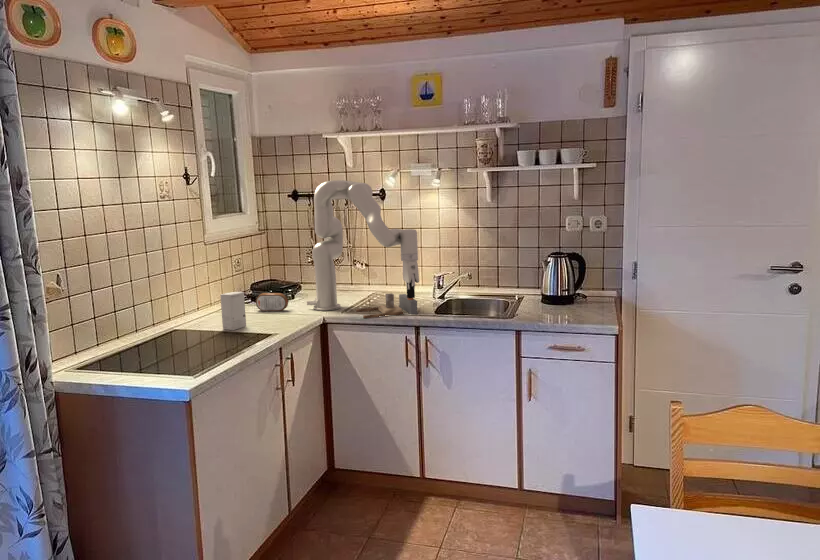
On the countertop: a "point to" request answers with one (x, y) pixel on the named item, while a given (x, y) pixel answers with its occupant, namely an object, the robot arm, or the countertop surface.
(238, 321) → the skincare box
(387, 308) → the post on wide base
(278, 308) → the tin
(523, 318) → the countertop surface
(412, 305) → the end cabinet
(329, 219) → the robot arm
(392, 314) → the track
